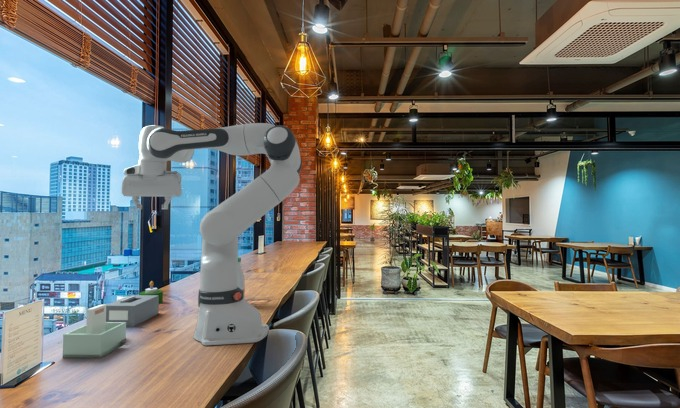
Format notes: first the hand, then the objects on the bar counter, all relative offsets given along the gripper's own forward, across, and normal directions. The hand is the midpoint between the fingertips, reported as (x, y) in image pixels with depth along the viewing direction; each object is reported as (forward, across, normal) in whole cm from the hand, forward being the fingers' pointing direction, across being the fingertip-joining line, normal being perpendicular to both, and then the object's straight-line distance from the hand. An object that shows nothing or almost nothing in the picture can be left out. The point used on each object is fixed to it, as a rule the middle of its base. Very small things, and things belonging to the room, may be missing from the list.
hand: (151, 209), depth 120 cm
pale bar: (+38, -1, +27) cm, 47 cm away
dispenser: (+39, +3, +5) cm, 40 cm away
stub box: (+39, -1, +27) cm, 47 cm away
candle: (+39, +10, -18) cm, 44 cm away
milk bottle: (+39, -25, -16) cm, 49 cm away
